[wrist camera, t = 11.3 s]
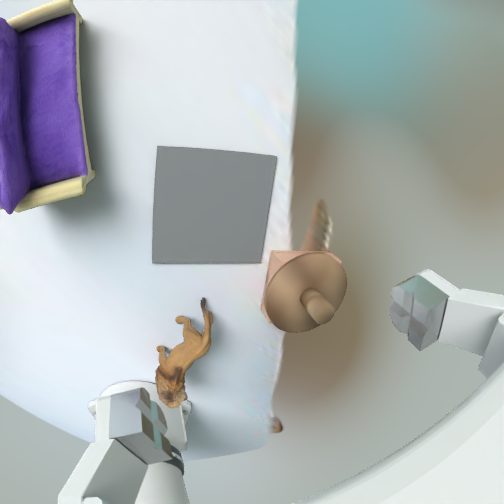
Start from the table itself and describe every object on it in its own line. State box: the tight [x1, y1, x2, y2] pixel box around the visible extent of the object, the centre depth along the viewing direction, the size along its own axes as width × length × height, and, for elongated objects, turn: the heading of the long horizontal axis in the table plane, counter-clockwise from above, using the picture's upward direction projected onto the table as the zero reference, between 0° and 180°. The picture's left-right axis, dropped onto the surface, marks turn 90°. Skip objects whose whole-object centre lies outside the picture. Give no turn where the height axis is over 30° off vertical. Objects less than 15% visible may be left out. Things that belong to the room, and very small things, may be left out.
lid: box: [264, 252, 347, 333], centre depth 38 cm, size 12×12×5 cm
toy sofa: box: [0, 0, 96, 214], centre depth 20 cm, size 21×9×10 cm, turn 4°
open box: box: [261, 251, 342, 323], centre depth 42 cm, size 9×9×4 cm
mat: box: [152, 146, 277, 263], centre depth 35 cm, size 14×14×1 cm
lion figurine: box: [155, 298, 213, 409], centre depth 38 cm, size 15×5×9 cm, turn 149°
